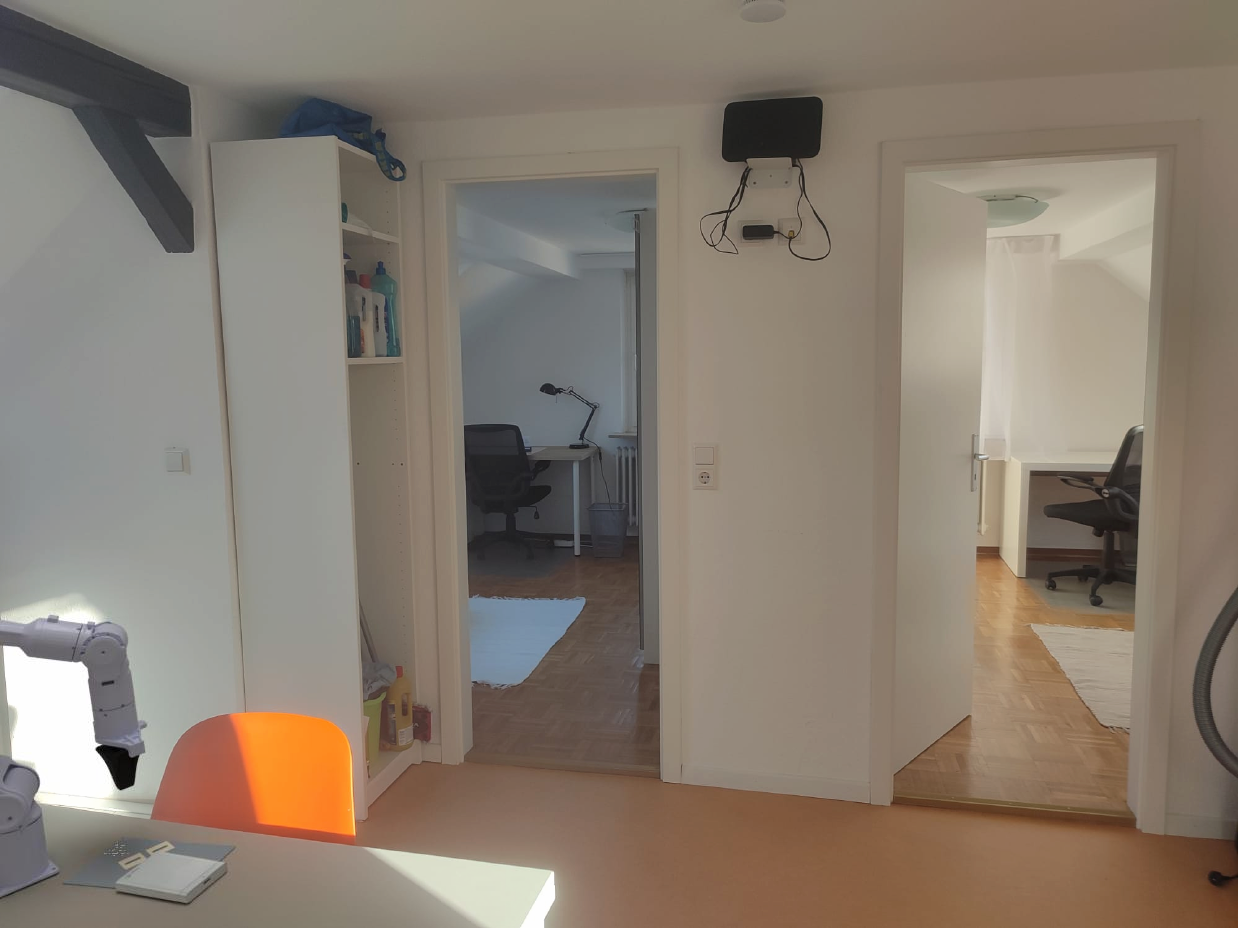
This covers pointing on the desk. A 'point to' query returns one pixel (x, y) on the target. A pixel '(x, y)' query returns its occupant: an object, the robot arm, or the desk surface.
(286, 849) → the desk surface
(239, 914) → the desk surface
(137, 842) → the label mat
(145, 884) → the hard drive
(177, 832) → the desk surface
